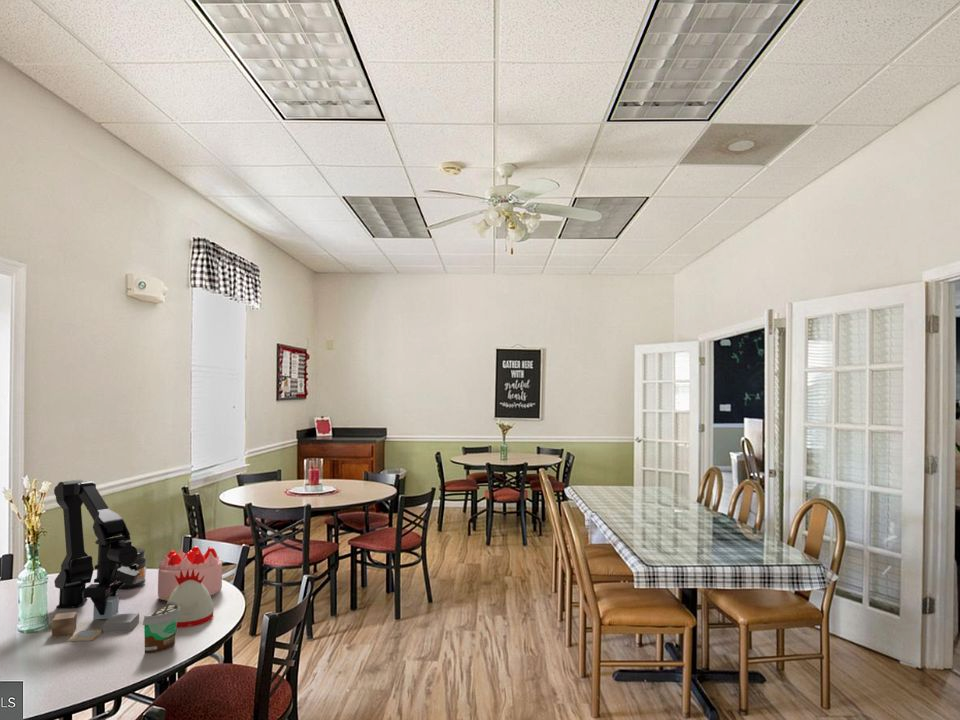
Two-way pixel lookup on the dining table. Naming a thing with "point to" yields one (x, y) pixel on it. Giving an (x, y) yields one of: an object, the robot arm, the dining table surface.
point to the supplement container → (142, 567)
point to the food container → (161, 628)
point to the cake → (195, 560)
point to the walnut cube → (64, 624)
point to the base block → (121, 622)
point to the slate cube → (108, 608)
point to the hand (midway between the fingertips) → (106, 611)
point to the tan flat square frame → (85, 635)
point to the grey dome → (191, 600)
